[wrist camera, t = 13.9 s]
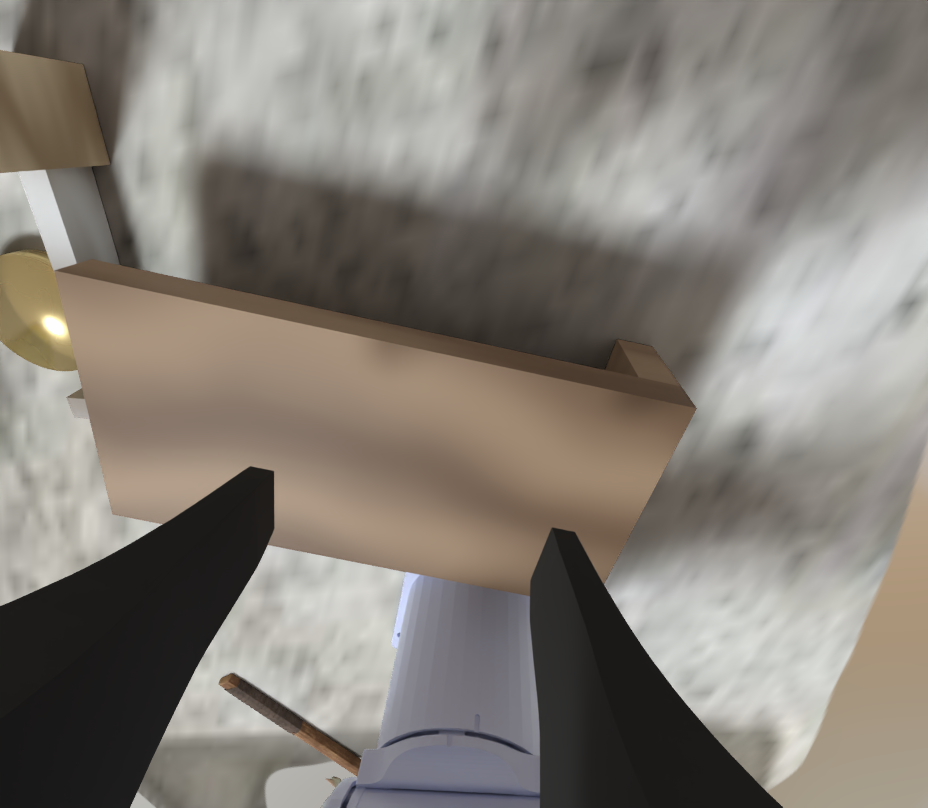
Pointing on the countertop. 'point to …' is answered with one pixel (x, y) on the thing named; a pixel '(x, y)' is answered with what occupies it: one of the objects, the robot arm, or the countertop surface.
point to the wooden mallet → (56, 160)
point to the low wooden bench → (366, 426)
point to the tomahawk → (291, 724)
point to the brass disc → (33, 311)
